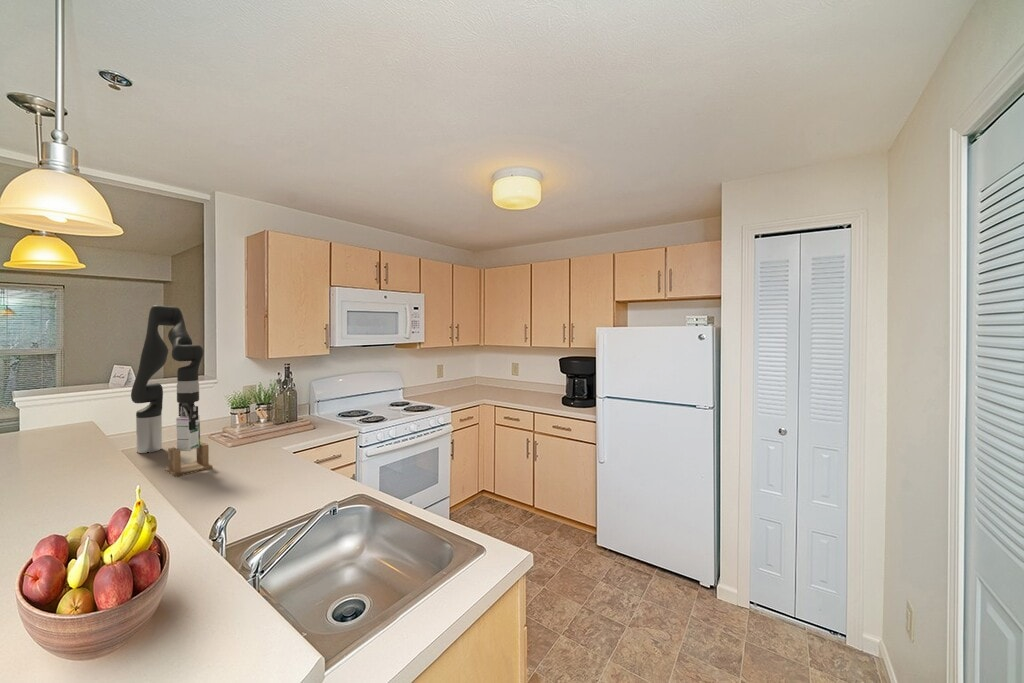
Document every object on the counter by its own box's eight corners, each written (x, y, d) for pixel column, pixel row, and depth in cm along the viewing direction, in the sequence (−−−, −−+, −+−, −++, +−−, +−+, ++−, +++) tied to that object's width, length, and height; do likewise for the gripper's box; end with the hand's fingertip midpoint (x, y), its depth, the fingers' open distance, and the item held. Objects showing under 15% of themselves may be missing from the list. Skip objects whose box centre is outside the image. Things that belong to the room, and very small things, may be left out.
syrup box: (189, 451, 169) (189, 417, 169) (176, 450, 169) (175, 417, 169) (200, 447, 175) (200, 414, 174) (187, 446, 175) (187, 414, 174)
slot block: (164, 470, 170) (164, 447, 170) (200, 462, 181) (200, 440, 181) (175, 476, 164) (175, 453, 163) (212, 467, 175) (212, 445, 174)
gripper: (170, 390, 172) (171, 427, 172) (183, 393, 164) (184, 432, 165) (191, 388, 178) (192, 424, 179) (205, 391, 170) (205, 429, 171)
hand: (188, 428), depth 172 cm, fingers closed on syrup box, 7 cm apart
